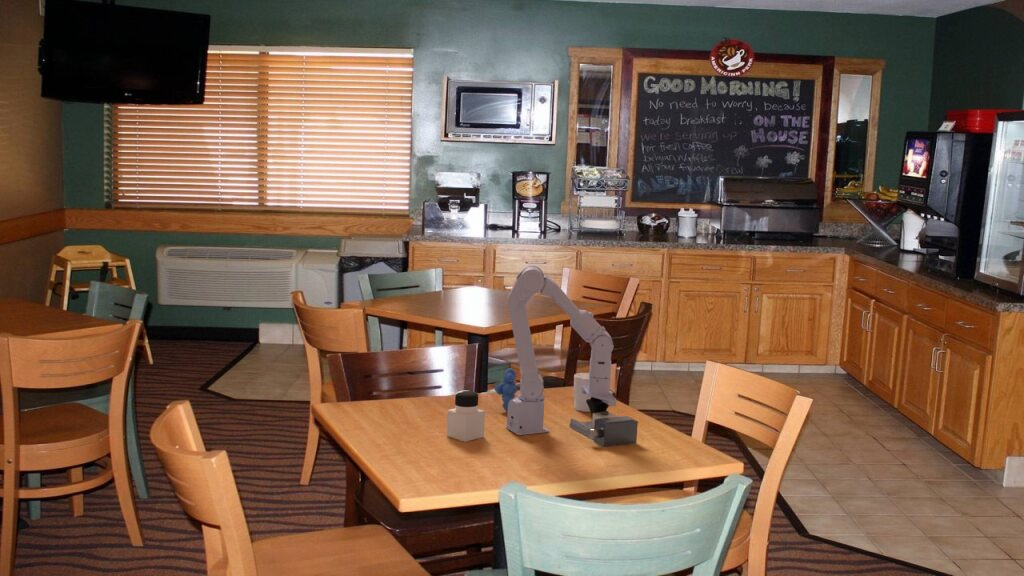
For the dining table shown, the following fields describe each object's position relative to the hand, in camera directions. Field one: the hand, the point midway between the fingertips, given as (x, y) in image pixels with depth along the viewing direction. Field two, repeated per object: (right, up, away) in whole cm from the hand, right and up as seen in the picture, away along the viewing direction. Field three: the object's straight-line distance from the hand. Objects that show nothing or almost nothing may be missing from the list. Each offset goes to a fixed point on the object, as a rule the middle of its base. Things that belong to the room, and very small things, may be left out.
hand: (597, 425), depth 261 cm
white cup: (-1, +1, +24) cm, 25 cm away
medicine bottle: (-35, -2, -8) cm, 36 cm away
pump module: (+2, -1, -3) cm, 4 cm away
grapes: (-25, +2, +20) cm, 32 cm away
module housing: (0, -2, -2) cm, 3 cm away
